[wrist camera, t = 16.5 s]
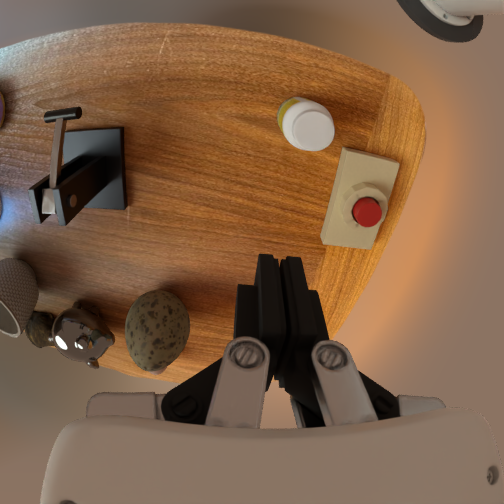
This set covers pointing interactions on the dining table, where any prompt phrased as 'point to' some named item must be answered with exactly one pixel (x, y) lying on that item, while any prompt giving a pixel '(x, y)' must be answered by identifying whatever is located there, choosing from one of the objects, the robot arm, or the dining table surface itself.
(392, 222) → the dining table surface
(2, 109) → the donut
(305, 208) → the dining table surface
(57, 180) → the lever
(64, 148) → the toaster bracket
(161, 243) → the dining table surface
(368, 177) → the power block
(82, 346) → the piggy bank
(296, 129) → the supplement bottle
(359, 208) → the button
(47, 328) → the seashell
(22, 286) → the planter
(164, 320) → the decorative egg
